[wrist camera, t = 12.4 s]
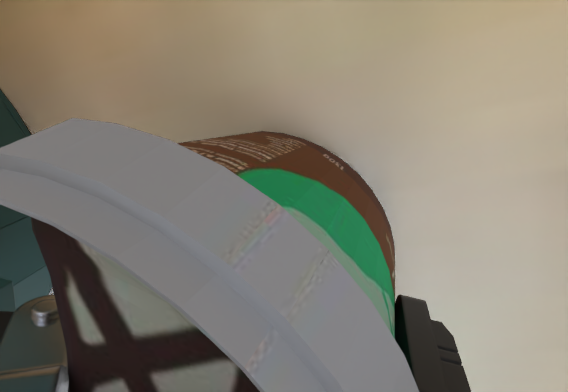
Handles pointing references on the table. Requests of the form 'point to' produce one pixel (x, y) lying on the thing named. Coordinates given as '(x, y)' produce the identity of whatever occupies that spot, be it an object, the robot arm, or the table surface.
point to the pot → (18, 234)
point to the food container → (209, 261)
